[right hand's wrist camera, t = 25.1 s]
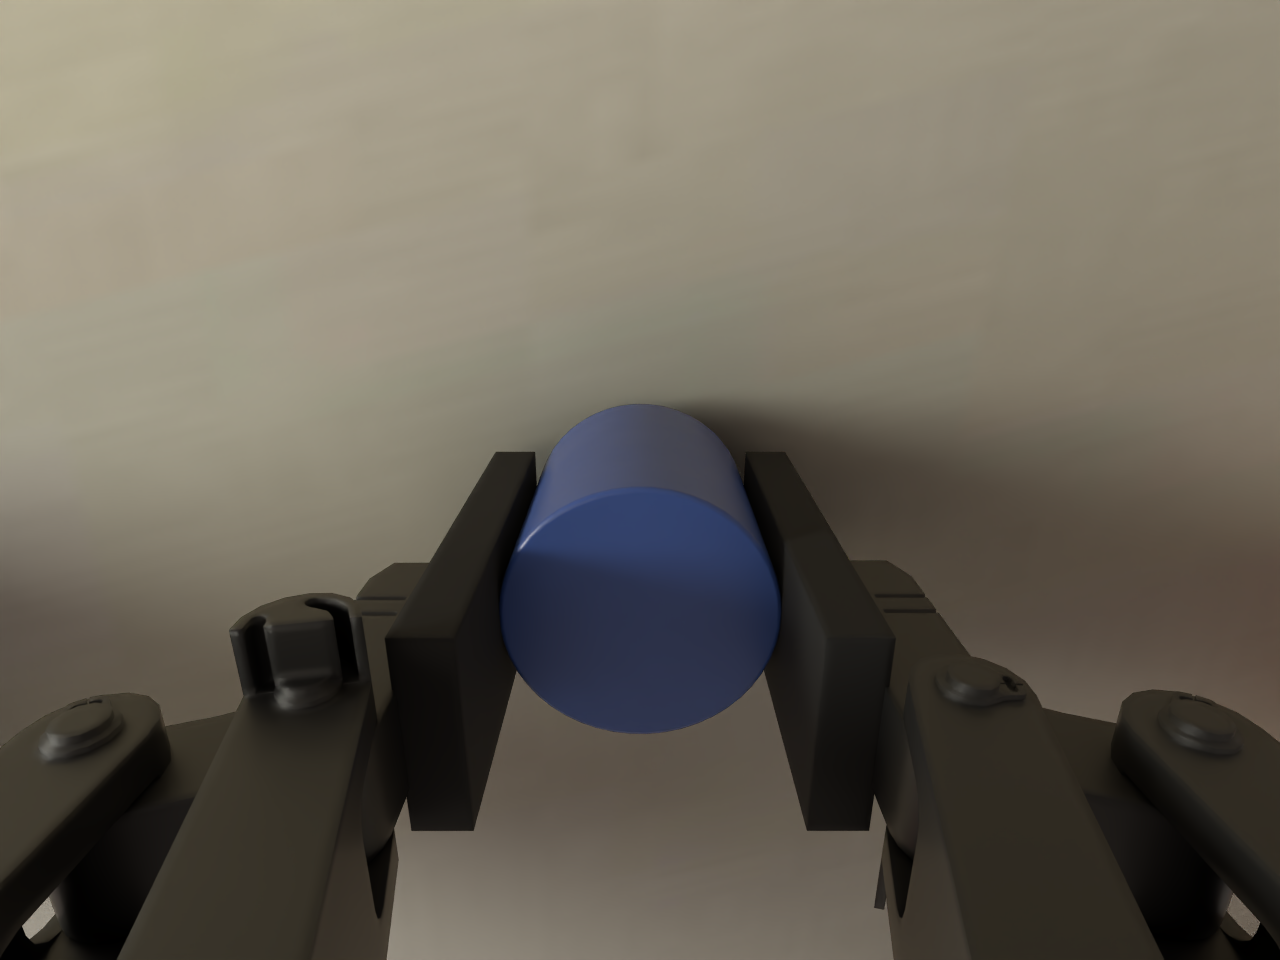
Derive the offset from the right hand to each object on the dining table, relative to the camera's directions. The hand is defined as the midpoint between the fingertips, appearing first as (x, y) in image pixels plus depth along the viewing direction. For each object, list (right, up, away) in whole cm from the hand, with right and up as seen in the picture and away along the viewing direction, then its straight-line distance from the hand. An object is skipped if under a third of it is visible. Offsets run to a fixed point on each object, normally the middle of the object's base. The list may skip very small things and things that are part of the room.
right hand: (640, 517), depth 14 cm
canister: (0, 0, 0) cm, 0 cm away
